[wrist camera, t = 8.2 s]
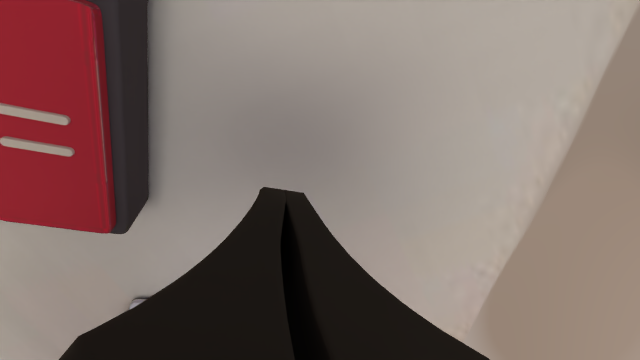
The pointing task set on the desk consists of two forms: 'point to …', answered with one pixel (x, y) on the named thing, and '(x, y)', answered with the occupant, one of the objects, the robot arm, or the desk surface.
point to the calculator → (73, 113)
